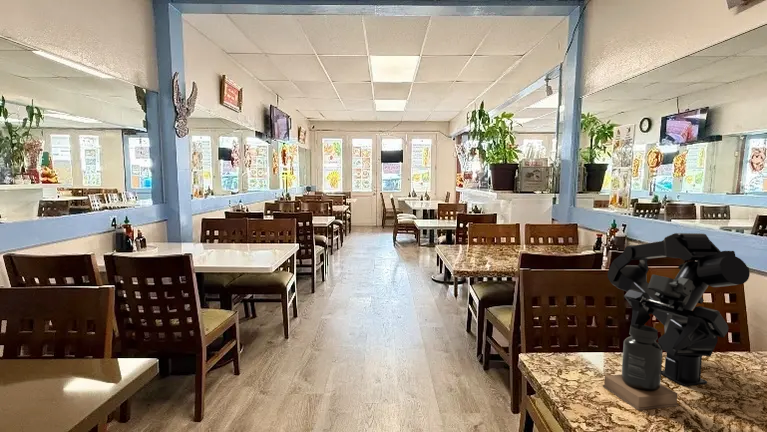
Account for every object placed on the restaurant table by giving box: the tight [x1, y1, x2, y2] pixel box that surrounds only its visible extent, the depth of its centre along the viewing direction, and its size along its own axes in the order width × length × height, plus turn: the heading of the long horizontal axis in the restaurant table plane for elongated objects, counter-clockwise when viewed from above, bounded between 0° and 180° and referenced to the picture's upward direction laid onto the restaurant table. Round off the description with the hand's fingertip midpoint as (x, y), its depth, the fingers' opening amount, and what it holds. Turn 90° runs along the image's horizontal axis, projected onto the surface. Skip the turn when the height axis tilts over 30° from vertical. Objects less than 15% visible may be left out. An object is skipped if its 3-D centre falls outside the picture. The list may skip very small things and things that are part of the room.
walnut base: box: [602, 373, 679, 411], centre depth 83 cm, size 9×9×2 cm
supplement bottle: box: [621, 324, 664, 391], centre depth 83 cm, size 7×7×12 cm
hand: (651, 341), depth 84 cm, fingers open, 9 cm apart
